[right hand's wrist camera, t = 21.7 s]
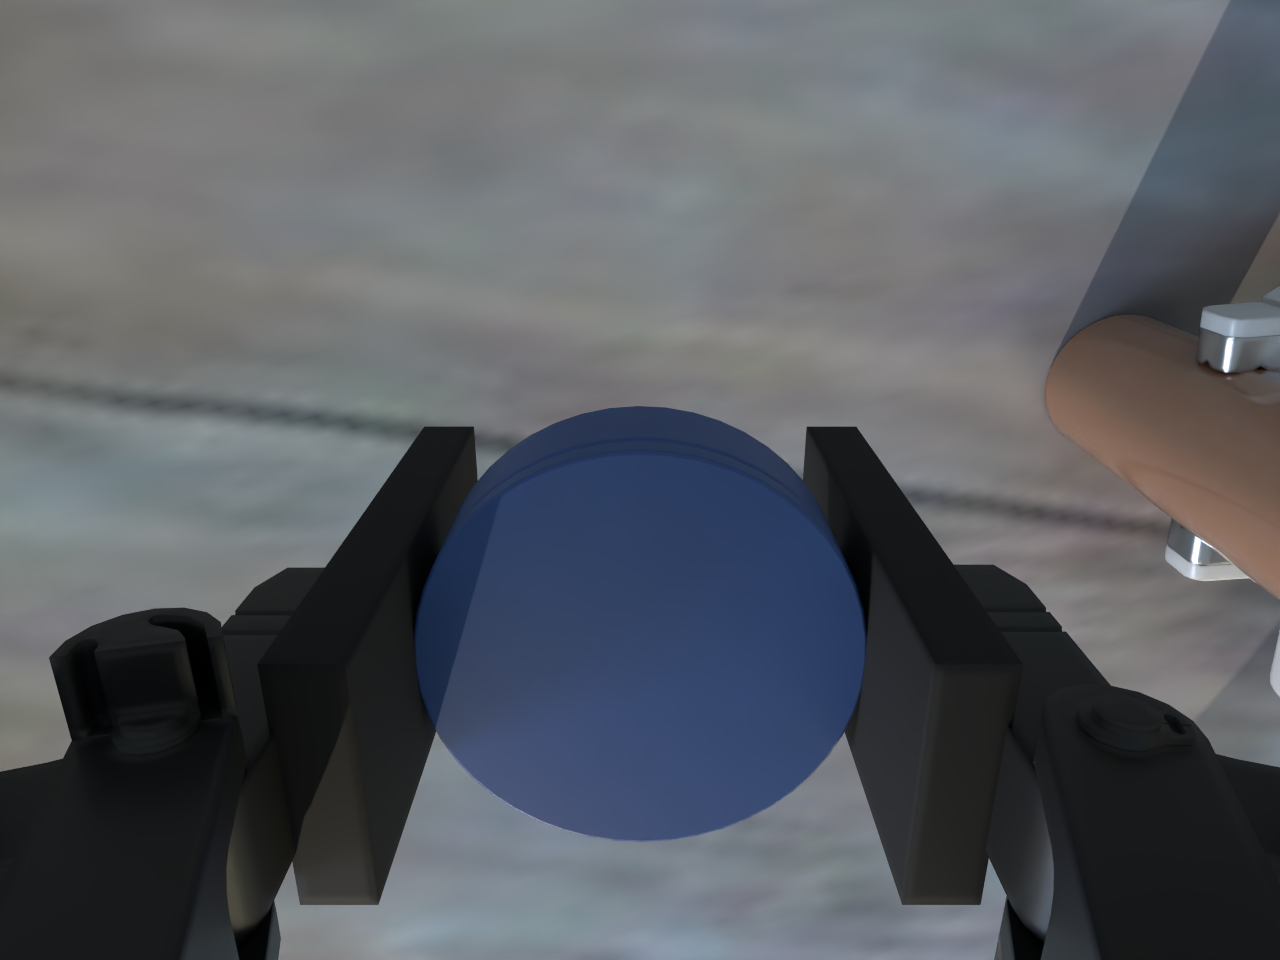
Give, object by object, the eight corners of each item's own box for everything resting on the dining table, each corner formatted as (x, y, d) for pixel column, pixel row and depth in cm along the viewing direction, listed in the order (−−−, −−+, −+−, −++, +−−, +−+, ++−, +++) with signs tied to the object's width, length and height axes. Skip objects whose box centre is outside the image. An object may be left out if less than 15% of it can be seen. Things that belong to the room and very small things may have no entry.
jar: (1108, 473, 33) (1458, 744, 19) (1015, 394, 32) (1313, 617, 18) (1215, 371, 31) (1682, 581, 17) (1122, 285, 30) (1539, 432, 16)
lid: (636, 315, 10) (635, 349, 9) (920, 590, 12) (962, 661, 10) (361, 597, 12) (319, 668, 10) (643, 816, 13) (643, 908, 12)
